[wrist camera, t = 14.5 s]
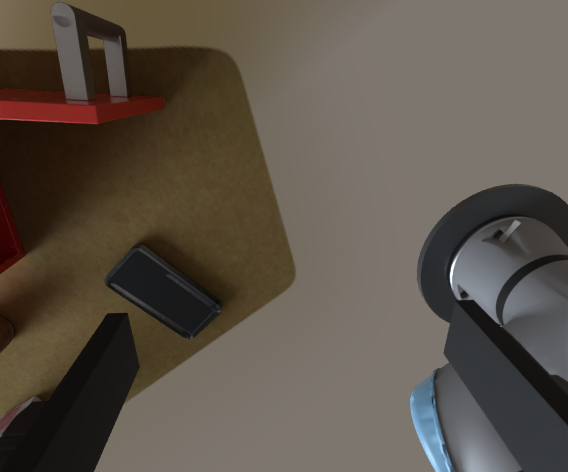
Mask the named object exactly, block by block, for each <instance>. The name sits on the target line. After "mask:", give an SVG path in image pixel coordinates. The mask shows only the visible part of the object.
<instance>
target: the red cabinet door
mask: <svg viewBox="0 0 568 472" xmlns="http://www.w3.org/2000/svg"><path fill="white" fill-rule="evenodd" d="M51 18H52V24H53V30H54V35H55V41H56V46H57V52H58V57H59V63H60V68H61V74H62V79H63V85H64V91H47V90H30V89H12V88H0V119H5V120H25V121H45V122H65V123H85V124H100V123H105V122H109V121H113V120H117V119H122V118H126V117H130V116H134V115H139V114H143V113H147V112H151V111H155V110H160V109H164V108H165V99H164V97H154V96H136V95H132V88H131V78H130V69H129V60H128V51H127V42H126V34H125V31H124V29H123V28H122V27H120V26H119V25H116V24H114V23H112V22H109V21H107V20H104V19H102V18H100V17H97V16H95V15H92V14H90V13H88V12H85V11H83V10H80V9H78V8H76V7H73V6H71V5H68V4H66V3H64V2H57V3H55V4H54V5H53V6H52V8H51ZM87 35H88V36H91V37H95V38H98V39H102V40H103V42H104V49H105V57H106V64H107V72H108V79H109V87H110V94H101V93H95V86H94V79H93V72H92V65H91V59H90V52H89V45H88V39H87Z"/></svg>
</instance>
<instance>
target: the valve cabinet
mask: <svg viewBox="0 0 568 472" xmlns="http://www.w3.org/2000/svg"><path fill="white" fill-rule="evenodd" d="M23 257H25V253H24V250H23V247H22V244H21V241H20V238H19V235H18V232H17V229H16V227H15V224H14V221H13V218H12V215H11V212H10V209H9V206H8V203H7V200H6V197H5V194H4V191H3V188H2V185H1V182H0V274H1V273H2V272H4V271H5V270H7V269H8V268H9V267H11V266H12V265H13V264H15V263H16V262H18V261H19V260H20V259H22V258H23Z"/></svg>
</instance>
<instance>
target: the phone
mask: <svg viewBox="0 0 568 472" xmlns="http://www.w3.org/2000/svg"><path fill="white" fill-rule="evenodd" d="M105 284H106V286H107V287H109V288H110V289H112V290H113V291H115V292H116V293H118V294H119V295H121V296H122V297H124V298H125V299H127V300H128V301H130V302H131V303H133V304H134V305H136V306H137V307H139V308H140V309H142V310H143V311H145V312H146V313H148V314H149V315H151V316H152V317H154V318H155V319H157V320H158V321H160V322H161V323H163V324H164V325H166V326H167V327H169V328H170V329H172V330H173V331H175V332H176V333H178V334H179V335H181V336H182V337H184V338H186V339H192V338H194V337H195V336H196V335H197V334H198V333H199V332H200V331H202V330H203V329H204V328H205V327H206V326H207V325H208V324H209V323H210V322H211V321H212V320H213V319H214V318H215V317H217V316H218V315H219V314H220V312H221V307H222V305H221V302H220V301H219V300H218V299H216V298H215V297H214V296H212V295H211V294H209V293H208V292H207V291H205V290H204V289H203V288H201V287H200V286H199V285H197V284H196V283H195V282H193V281H192V280H191V279H189V278H188V277H186V276H185V275H184V274H182V273H181V272H180V271H178V270H177V269H176V268H174V267H173V266H172V265H170V264H169V263H168V262H166V261H165V260H163V259H162V258H161V257H159V256H158V255H157V254H155V253H154V252H153V251H151V250H150V249H149V248H147V247H146V246H144V245H141V244H137V245H134V246H133V247H132V248H131V249H130V250H129V252H128V253H127V254H126V255H125V256H124V257H123V258H122V259H121V260H120V262H119V263H118V264H117V265H116V266H115V267H114V268H113V269H112V270H111V272H110V273H109V274H108V275H107V276H106V278H105Z"/></svg>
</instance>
